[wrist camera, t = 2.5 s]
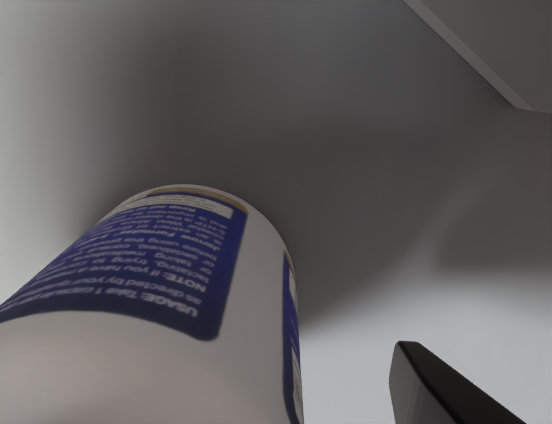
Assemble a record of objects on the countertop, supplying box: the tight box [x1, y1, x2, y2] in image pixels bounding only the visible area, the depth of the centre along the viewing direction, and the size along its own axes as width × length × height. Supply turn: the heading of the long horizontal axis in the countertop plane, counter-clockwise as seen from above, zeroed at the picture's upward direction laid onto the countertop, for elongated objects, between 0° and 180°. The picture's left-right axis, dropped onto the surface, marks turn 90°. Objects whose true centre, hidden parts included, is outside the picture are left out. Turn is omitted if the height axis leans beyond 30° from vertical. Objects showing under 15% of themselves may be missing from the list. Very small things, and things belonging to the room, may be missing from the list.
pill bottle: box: [0, 184, 304, 424], centre depth 7 cm, size 5×5×9 cm
